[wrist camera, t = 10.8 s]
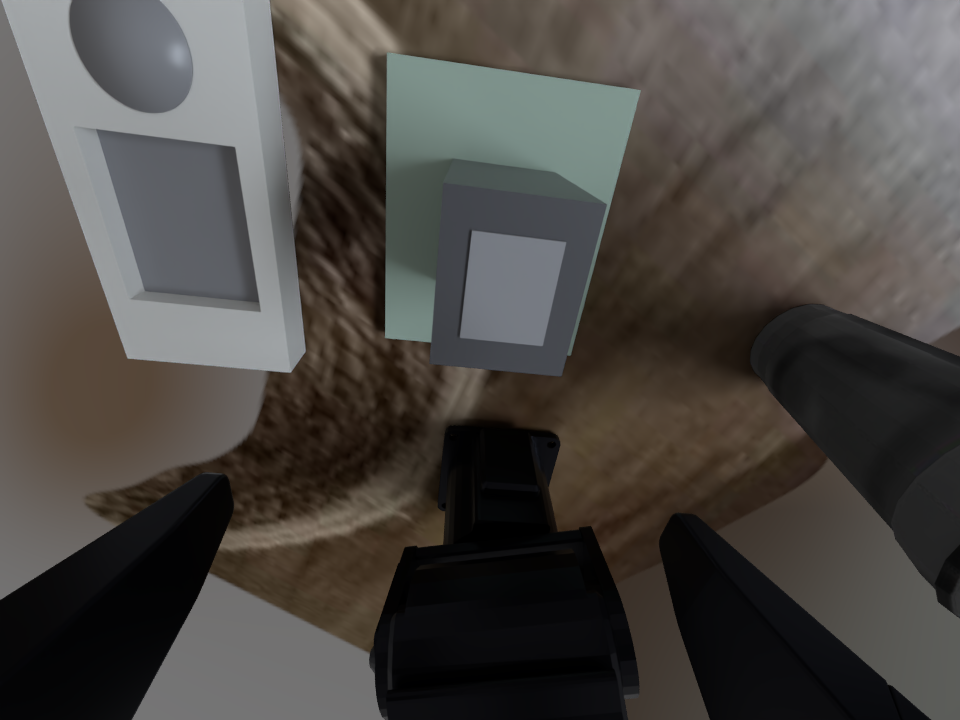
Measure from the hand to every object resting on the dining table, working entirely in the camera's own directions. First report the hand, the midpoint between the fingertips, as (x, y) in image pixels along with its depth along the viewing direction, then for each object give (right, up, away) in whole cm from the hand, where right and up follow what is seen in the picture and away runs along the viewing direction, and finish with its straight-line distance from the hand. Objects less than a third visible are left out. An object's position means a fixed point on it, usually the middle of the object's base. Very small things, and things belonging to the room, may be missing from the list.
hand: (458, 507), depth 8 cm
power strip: (-10, +12, +7) cm, 18 cm away
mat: (+1, +9, +9) cm, 13 cm away
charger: (+1, +8, +9) cm, 12 cm away
